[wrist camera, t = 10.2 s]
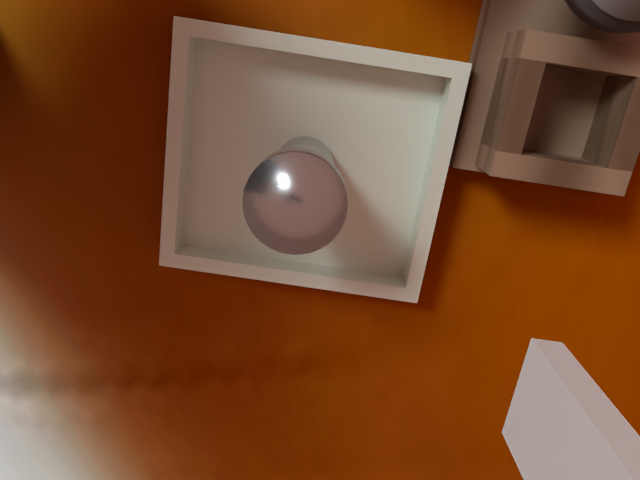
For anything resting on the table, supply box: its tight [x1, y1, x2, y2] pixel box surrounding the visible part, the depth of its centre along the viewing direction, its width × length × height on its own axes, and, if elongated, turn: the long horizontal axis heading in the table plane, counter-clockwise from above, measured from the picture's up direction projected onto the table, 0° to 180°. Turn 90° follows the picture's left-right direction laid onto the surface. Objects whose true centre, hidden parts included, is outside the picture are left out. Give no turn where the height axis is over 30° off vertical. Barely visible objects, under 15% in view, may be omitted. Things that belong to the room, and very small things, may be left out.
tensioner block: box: [449, 0, 640, 196], centre depth 31 cm, size 11×17×8 cm, turn 171°
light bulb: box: [242, 136, 348, 255], centre depth 31 cm, size 5×5×10 cm
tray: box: [159, 16, 472, 303], centre depth 36 cm, size 18×16×3 cm
